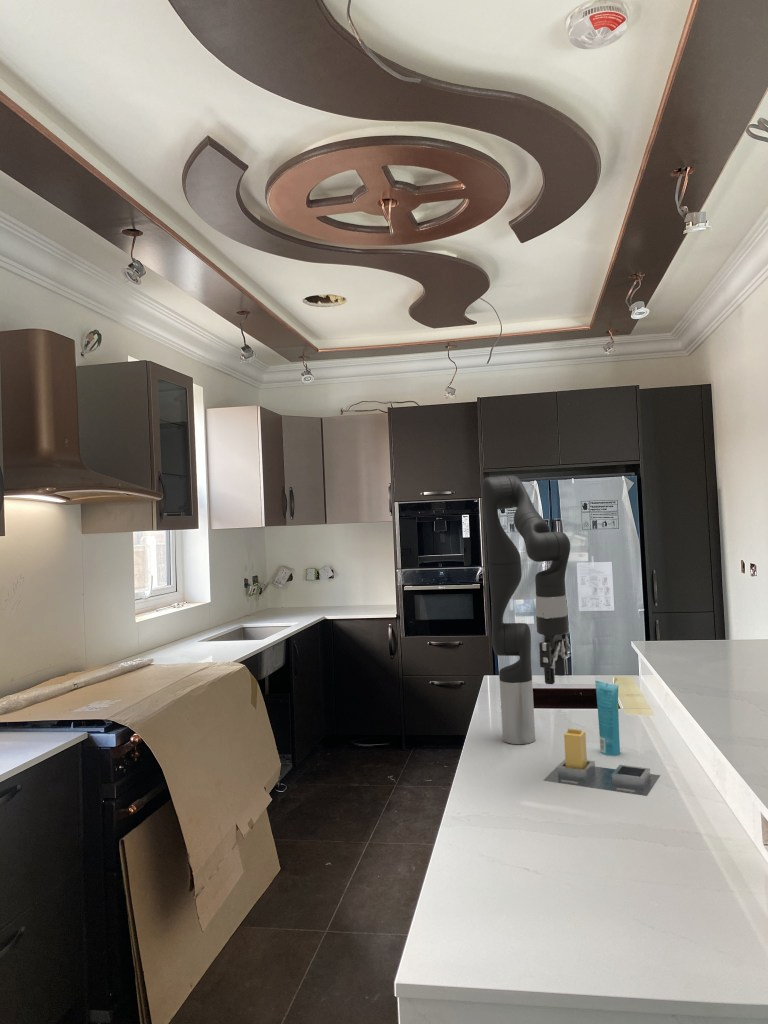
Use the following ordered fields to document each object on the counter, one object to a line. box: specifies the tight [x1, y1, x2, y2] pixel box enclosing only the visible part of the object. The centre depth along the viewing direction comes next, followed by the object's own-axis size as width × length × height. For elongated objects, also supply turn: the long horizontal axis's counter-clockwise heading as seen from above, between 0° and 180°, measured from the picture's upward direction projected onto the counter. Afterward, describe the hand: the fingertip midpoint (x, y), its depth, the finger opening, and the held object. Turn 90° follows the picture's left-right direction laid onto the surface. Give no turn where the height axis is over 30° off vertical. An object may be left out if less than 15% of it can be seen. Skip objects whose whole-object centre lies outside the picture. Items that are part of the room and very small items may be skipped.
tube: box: [594, 680, 621, 757], centre depth 196 cm, size 7×5×19 cm, turn 39°
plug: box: [563, 728, 588, 769], centre depth 181 cm, size 4×4×11 cm
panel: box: [542, 759, 661, 797], centre depth 178 cm, size 14×24×4 cm, turn 58°
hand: (555, 679), depth 183 cm, fingers open, 8 cm apart
